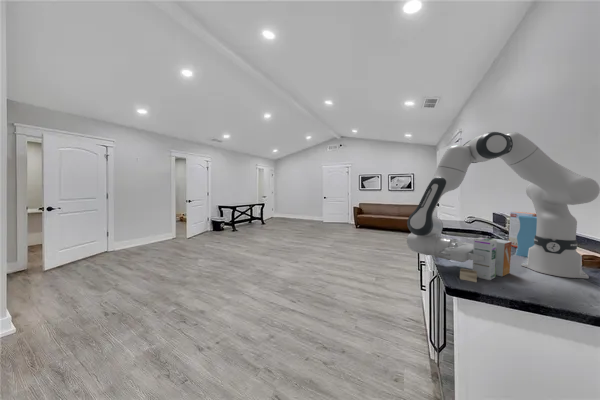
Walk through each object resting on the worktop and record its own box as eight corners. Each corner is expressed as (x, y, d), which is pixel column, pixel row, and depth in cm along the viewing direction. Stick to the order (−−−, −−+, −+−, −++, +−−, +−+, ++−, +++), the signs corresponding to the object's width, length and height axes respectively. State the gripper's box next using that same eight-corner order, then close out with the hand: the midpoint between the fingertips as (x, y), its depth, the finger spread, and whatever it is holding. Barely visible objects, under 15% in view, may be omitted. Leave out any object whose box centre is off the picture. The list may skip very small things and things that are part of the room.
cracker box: (540, 251, 130) (543, 214, 129) (529, 251, 130) (532, 213, 129) (517, 245, 144) (520, 211, 143) (507, 245, 144) (509, 211, 143)
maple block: (460, 275, 91) (460, 268, 91) (476, 278, 88) (476, 270, 88) (459, 279, 87) (460, 271, 87) (476, 282, 84) (476, 274, 84)
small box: (502, 277, 90) (505, 243, 89) (482, 272, 95) (484, 240, 94) (510, 273, 94) (512, 241, 94) (490, 268, 100) (492, 238, 99)
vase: (516, 252, 128) (518, 215, 127) (536, 255, 122) (539, 217, 121) (515, 255, 122) (518, 216, 121) (537, 258, 117) (540, 218, 116)
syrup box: (490, 280, 86) (492, 241, 85) (471, 275, 91) (473, 238, 90) (495, 277, 89) (497, 239, 88) (476, 272, 94) (479, 236, 93)
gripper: (437, 244, 93) (480, 252, 82) (455, 238, 106) (494, 244, 95) (436, 260, 93) (479, 270, 82) (454, 252, 106) (493, 259, 95)
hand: (487, 256), depth 89 cm, fingers open, 8 cm apart
